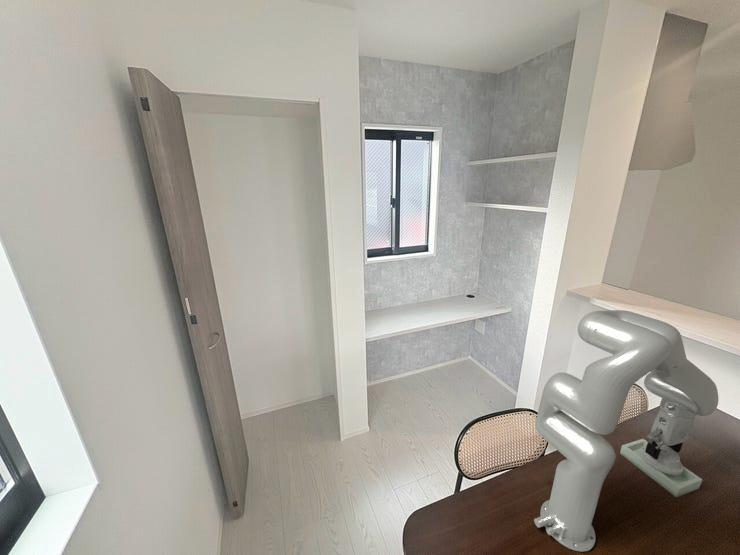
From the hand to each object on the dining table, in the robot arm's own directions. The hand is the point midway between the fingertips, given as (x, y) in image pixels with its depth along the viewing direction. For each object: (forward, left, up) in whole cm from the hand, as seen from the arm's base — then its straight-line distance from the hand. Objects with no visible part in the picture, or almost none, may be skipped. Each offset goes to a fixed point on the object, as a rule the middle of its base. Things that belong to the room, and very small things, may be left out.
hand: (662, 452), depth 94 cm
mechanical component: (+1, 0, -4) cm, 4 cm away
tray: (+1, 0, -8) cm, 8 cm away
